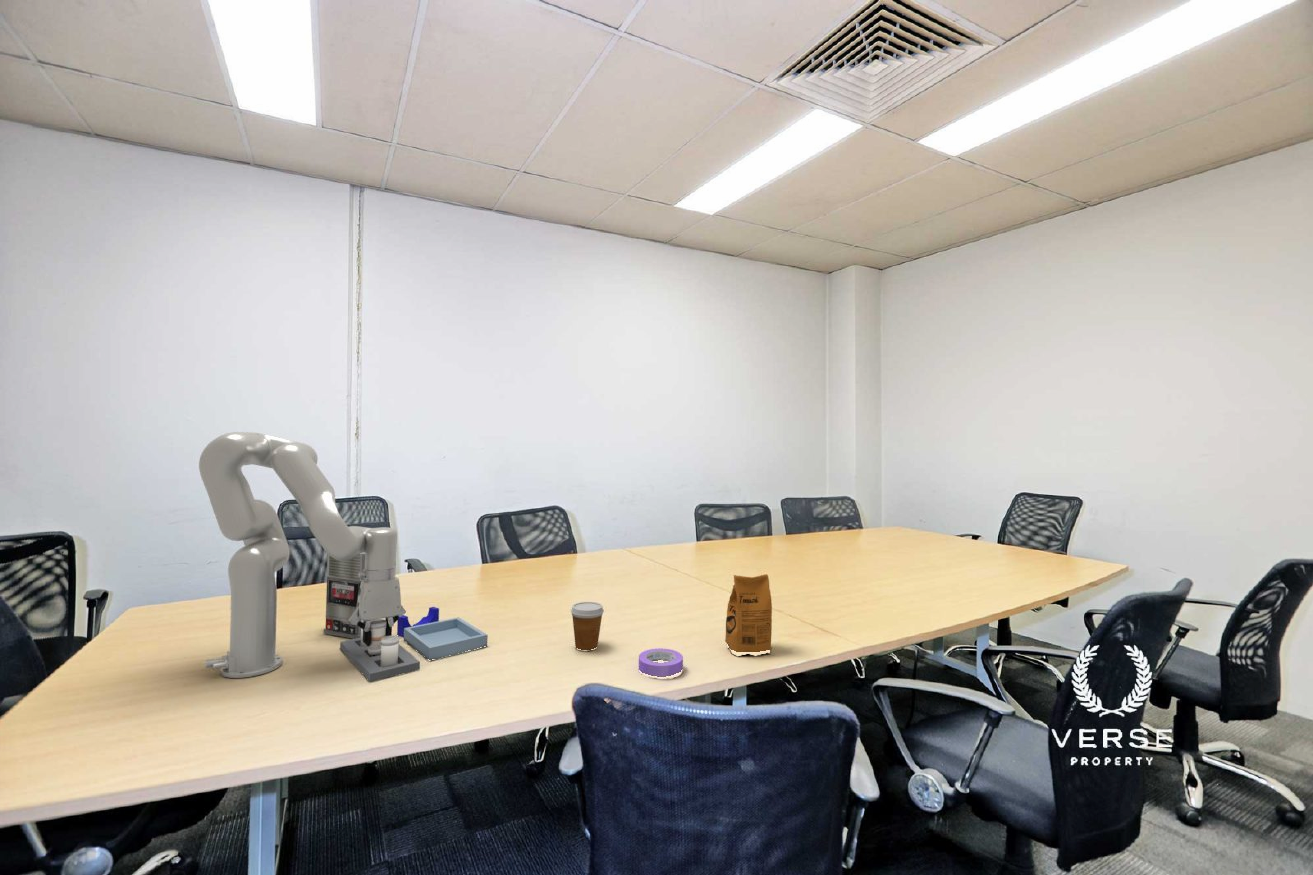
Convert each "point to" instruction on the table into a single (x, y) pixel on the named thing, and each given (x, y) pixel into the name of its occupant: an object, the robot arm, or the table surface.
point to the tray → (444, 638)
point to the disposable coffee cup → (586, 624)
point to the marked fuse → (377, 635)
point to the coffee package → (749, 615)
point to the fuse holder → (377, 661)
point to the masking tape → (657, 668)
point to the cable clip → (430, 618)
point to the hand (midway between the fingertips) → (377, 642)
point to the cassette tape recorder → (343, 595)
